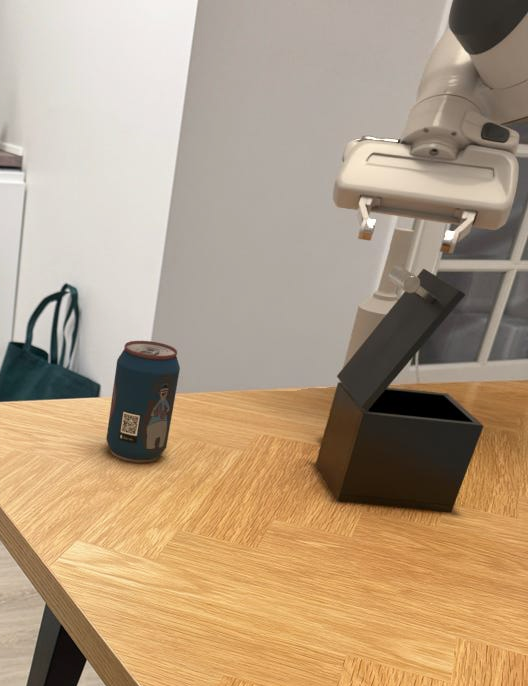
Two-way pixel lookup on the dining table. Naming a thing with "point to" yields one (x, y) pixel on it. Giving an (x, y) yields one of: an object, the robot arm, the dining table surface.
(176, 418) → the dining table surface
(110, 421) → the soda can
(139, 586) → the dining table surface
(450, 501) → the bin
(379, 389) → the bin lid
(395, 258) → the white round tapered piece
